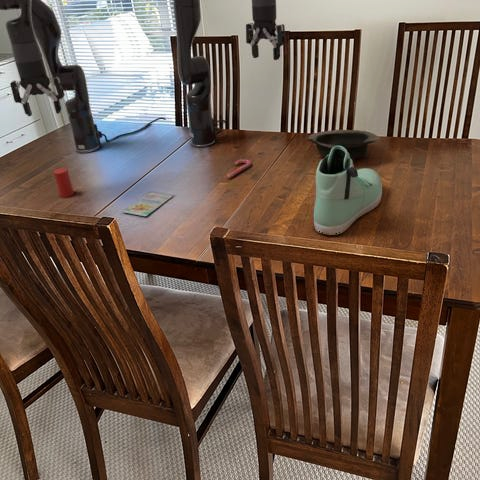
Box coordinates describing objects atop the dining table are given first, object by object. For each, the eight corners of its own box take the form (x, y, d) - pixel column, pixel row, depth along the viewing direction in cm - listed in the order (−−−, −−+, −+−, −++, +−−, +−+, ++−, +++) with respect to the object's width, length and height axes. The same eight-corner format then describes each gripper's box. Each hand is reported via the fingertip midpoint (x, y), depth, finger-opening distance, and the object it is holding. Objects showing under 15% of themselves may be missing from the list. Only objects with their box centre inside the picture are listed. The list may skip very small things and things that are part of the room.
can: (58, 195, 161) (51, 171, 157) (70, 190, 164) (63, 166, 159) (64, 198, 158) (57, 174, 154) (76, 194, 161) (69, 170, 156)
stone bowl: (336, 174, 158) (335, 147, 154) (295, 157, 179) (293, 133, 174) (394, 156, 167) (394, 130, 163) (348, 141, 187) (348, 118, 183)
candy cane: (215, 176, 165) (215, 172, 164) (240, 161, 175) (240, 157, 174) (229, 180, 162) (229, 175, 161) (254, 164, 172) (254, 160, 171)
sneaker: (389, 187, 148) (396, 123, 138) (356, 242, 123) (361, 168, 112) (346, 181, 154) (350, 119, 144) (306, 232, 129) (307, 161, 118)
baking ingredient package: (121, 211, 146) (150, 191, 157) (122, 212, 146) (150, 192, 158) (145, 215, 142) (173, 195, 154) (145, 216, 143) (173, 196, 154)
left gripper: (-1, 63, 135) (17, 120, 143) (50, 58, 135) (65, 115, 144) (7, 58, 141) (24, 113, 149) (56, 54, 142) (70, 108, 150)
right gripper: (238, 5, 150) (242, 59, 159) (274, 5, 142) (276, 62, 150) (253, 2, 155) (256, 54, 163) (289, 2, 146) (290, 58, 155)
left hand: (44, 114), depth 147 cm, fingers open, 8 cm apart
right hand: (266, 58), depth 157 cm, fingers open, 8 cm apart
